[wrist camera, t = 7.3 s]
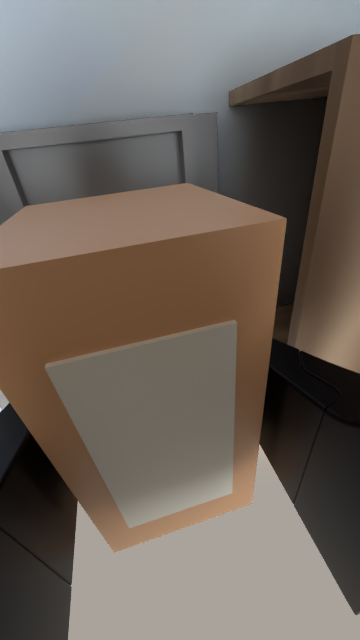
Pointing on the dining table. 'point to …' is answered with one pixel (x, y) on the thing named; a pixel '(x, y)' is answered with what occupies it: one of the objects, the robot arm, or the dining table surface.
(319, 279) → the box
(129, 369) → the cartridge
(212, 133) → the tray
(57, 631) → the robot arm
